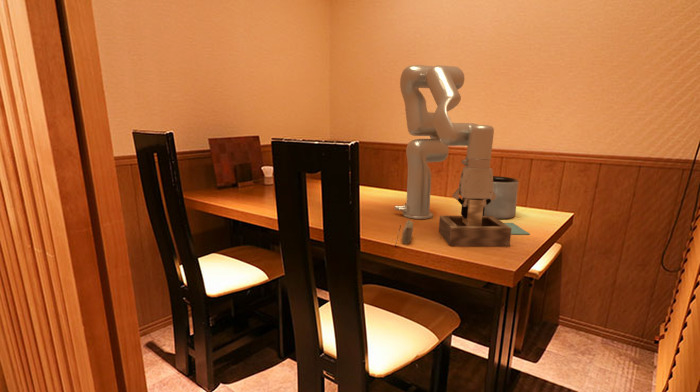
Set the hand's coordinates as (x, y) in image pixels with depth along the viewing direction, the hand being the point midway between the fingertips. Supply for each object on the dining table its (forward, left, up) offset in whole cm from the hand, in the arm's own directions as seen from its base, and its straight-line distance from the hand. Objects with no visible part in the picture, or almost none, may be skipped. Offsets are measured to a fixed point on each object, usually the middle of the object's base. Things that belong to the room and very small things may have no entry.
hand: (472, 216), depth 124 cm
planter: (+20, +31, -8) cm, 38 cm away
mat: (+16, +11, -7) cm, 21 cm away
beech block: (0, 0, -2) cm, 2 cm away
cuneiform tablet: (-23, -4, -8) cm, 25 cm away
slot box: (0, -1, -7) cm, 8 cm away
